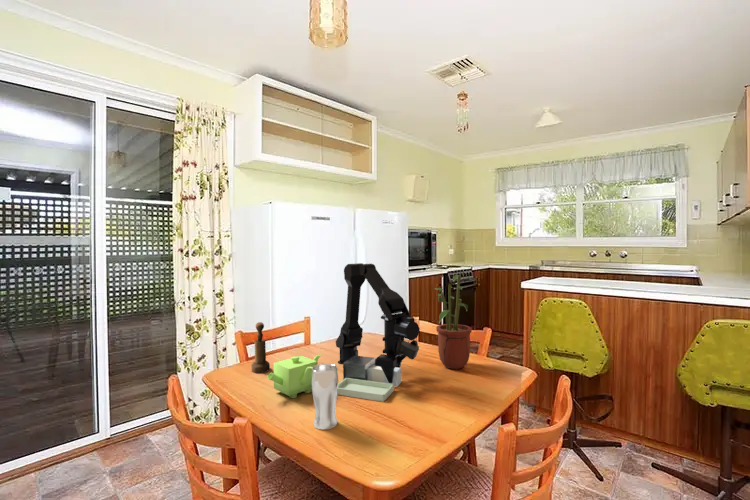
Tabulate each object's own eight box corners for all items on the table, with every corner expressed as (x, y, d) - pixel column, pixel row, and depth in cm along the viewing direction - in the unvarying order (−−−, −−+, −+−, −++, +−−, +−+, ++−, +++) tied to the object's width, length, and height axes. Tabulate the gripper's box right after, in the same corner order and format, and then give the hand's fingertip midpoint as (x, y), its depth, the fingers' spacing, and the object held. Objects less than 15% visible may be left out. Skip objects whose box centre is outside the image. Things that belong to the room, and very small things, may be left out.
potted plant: (478, 366, 144) (478, 274, 143) (455, 377, 133) (454, 277, 133) (440, 356, 157) (440, 272, 156) (416, 365, 146) (415, 274, 145)
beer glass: (313, 418, 103) (312, 363, 103) (339, 417, 104) (338, 362, 103) (311, 431, 96) (310, 372, 96) (338, 430, 97) (337, 371, 96)
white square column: (359, 381, 130) (359, 367, 130) (364, 377, 134) (364, 363, 134) (397, 386, 125) (397, 371, 125) (401, 382, 129) (400, 367, 129)
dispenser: (343, 382, 130) (343, 362, 130) (354, 373, 138) (354, 355, 138) (366, 385, 126) (366, 365, 126) (376, 376, 135) (376, 357, 135)
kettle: (322, 382, 129) (321, 350, 129) (317, 400, 115) (316, 363, 115) (278, 383, 129) (277, 350, 129) (267, 401, 115) (266, 364, 114)
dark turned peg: (247, 371, 141) (246, 323, 141) (259, 366, 147) (258, 320, 147) (262, 373, 139) (261, 324, 138) (273, 368, 145) (272, 321, 144)
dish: (333, 393, 120) (332, 387, 120) (346, 383, 128) (345, 377, 128) (384, 401, 113) (384, 395, 113) (394, 390, 122) (394, 384, 122)
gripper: (407, 343, 116) (408, 393, 116) (423, 329, 133) (423, 373, 133) (374, 339, 120) (374, 389, 120) (393, 327, 137) (393, 370, 137)
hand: (393, 380), depth 128 cm, fingers open, 5 cm apart
